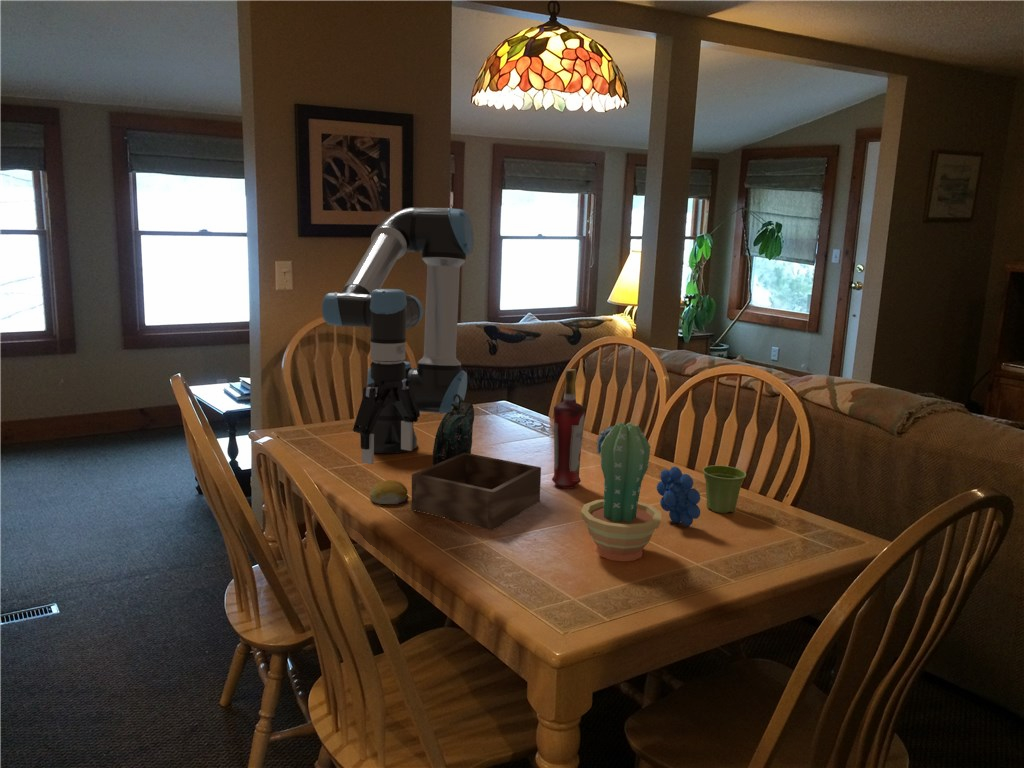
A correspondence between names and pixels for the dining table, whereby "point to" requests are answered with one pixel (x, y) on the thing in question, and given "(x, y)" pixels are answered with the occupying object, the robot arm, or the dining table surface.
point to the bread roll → (389, 492)
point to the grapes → (678, 496)
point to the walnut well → (476, 489)
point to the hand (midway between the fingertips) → (387, 456)
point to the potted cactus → (622, 496)
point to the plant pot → (722, 487)
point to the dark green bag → (454, 432)
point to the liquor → (568, 435)
